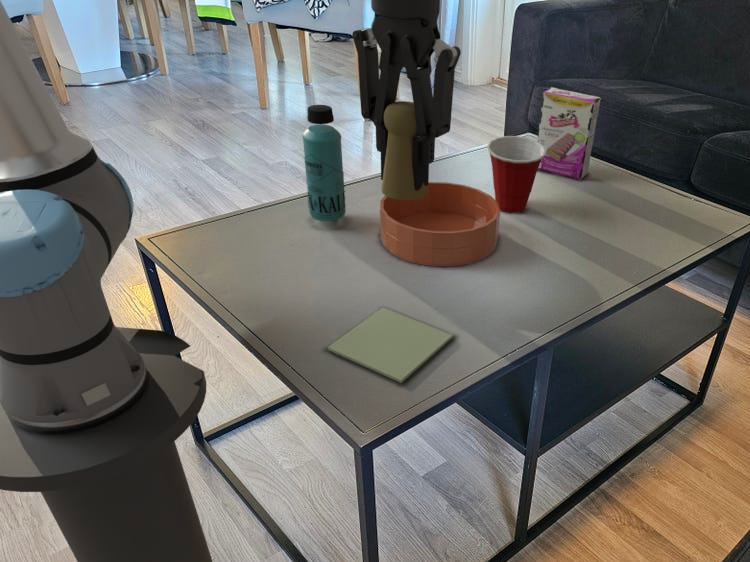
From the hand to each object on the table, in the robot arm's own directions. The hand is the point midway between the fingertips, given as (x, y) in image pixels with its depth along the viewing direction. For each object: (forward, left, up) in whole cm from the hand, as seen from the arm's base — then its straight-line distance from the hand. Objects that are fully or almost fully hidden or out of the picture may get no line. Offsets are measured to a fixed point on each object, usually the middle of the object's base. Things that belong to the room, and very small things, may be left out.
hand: (404, 181), depth 84 cm
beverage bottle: (-27, +14, -19) cm, 36 cm away
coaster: (+4, -9, -19) cm, 21 cm away
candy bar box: (-4, +63, -19) cm, 66 cm away
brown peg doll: (0, 0, -1) cm, 1 cm away
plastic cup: (-4, +40, -19) cm, 45 cm away
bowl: (-8, +21, -19) cm, 30 cm away
